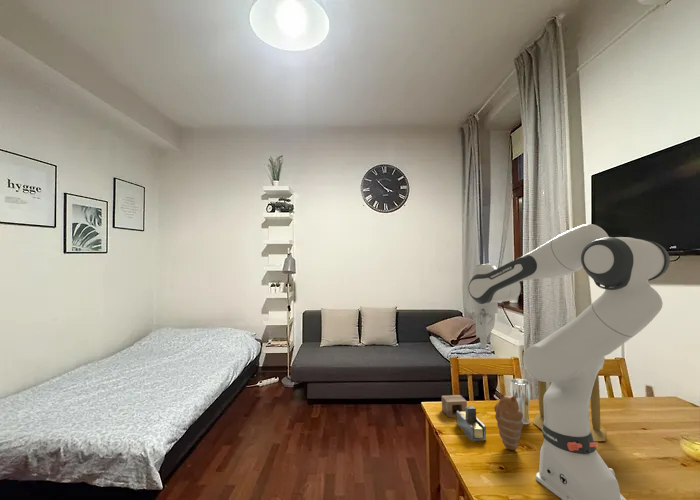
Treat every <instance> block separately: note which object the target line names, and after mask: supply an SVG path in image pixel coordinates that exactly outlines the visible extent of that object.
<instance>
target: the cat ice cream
mask: <svg viewBox="0 0 700 500" xmlns="http://www.w3.org/2000/svg"><path fill="white" fill-rule="evenodd" d="M499 396H500V397H499V398H500V399H499V401H498V403H496V404H495V405H494V409H493V410H494V413H495V414H494V415H495V420H496V421H497V423H496V426H497V428H498V432H499V437H500V438H501V442H502V445H503V446H504V447H505V448H506V449H507V450H510V451H516V450H518V448H519V443H520V442H521V441H520V440H521V435H522V429H523V427H524V424H523V422H522V418H523V413H522V411H521V410H520V409H519V405H518V402H517V400H516V396H511V394H510V395H509V394H506V395H505V394H504V392H502V391H500V392H499Z"/></svg>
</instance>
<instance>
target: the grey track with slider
mask: <svg viewBox="0 0 700 500" xmlns="http://www.w3.org/2000/svg"><path fill="white" fill-rule="evenodd" d="M476 422H477V423H478V424H479V425H480V427H481V428H482V429H483V438H474V432H473V426H472V425H471V424H470V423H469V422H468V421H467V419H466V418H465V417H464V416H463V415H462V414H461V413H460V412H459V411H457V417H456V425H457V424H458V425H457V426H458V428H459V429H460V428H461V429H462V430H463V431H464V432H463V431H462V430H461V429H460V430H461V431H462V432H463V434H466V435H467V436H468V437H469V438H468V437H467V436H466V435H465V436H466V437H467V438H468V440H469V441H470V440H471V441H478V442H484V441H483V440H486V441H487V427H486V425H485V424H484V422H482V421H481V419H479V418H478V417H477V416H476ZM480 440H482V441H480ZM471 441H470V442H471Z"/></svg>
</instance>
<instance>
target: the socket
mask: <svg viewBox="0 0 700 500" xmlns="http://www.w3.org/2000/svg"><path fill="white" fill-rule="evenodd" d="M467 402H468V401H467V400H466V399H465V397H463V395H461V394H450V395H448V394H447V395H441V411H442V413H443V414H444V415H445V414H446V415H447V416H446V415H445V416H446V417H447V418H457V417H456V416H457V411H459V412H463V411H466V407H468V403H467Z"/></svg>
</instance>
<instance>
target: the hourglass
mask: <svg viewBox="0 0 700 500" xmlns="http://www.w3.org/2000/svg"><path fill="white" fill-rule="evenodd" d="M603 369H604V365H603V366H602V368H601V369H600V370H603ZM600 370H599V371H600ZM599 379H600V378H599V373H598V374H597V376H596V379H595V382H594V386H593V389H592V393H591V398H590V413H591V414H590V415H591V420H590V431H591V433H592V436H593V438H594V442H606V439H607V436H606V435H607V434H606V429H605V428H603V427H602V426H601V396H600V394H601V393H600V380H599ZM551 383H552V382H549V386H550V385H551ZM537 390H538V391H537V392H538V411H539V413H536V414H535V416H534V419H533V421H532V423H533V424H534V425H535V426H537V428H539V429H540V430H541V431H542V426H543V422H544V403H543V398H544V394H545V392H546V391H547V382H542V381H538V380H537Z"/></svg>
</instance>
